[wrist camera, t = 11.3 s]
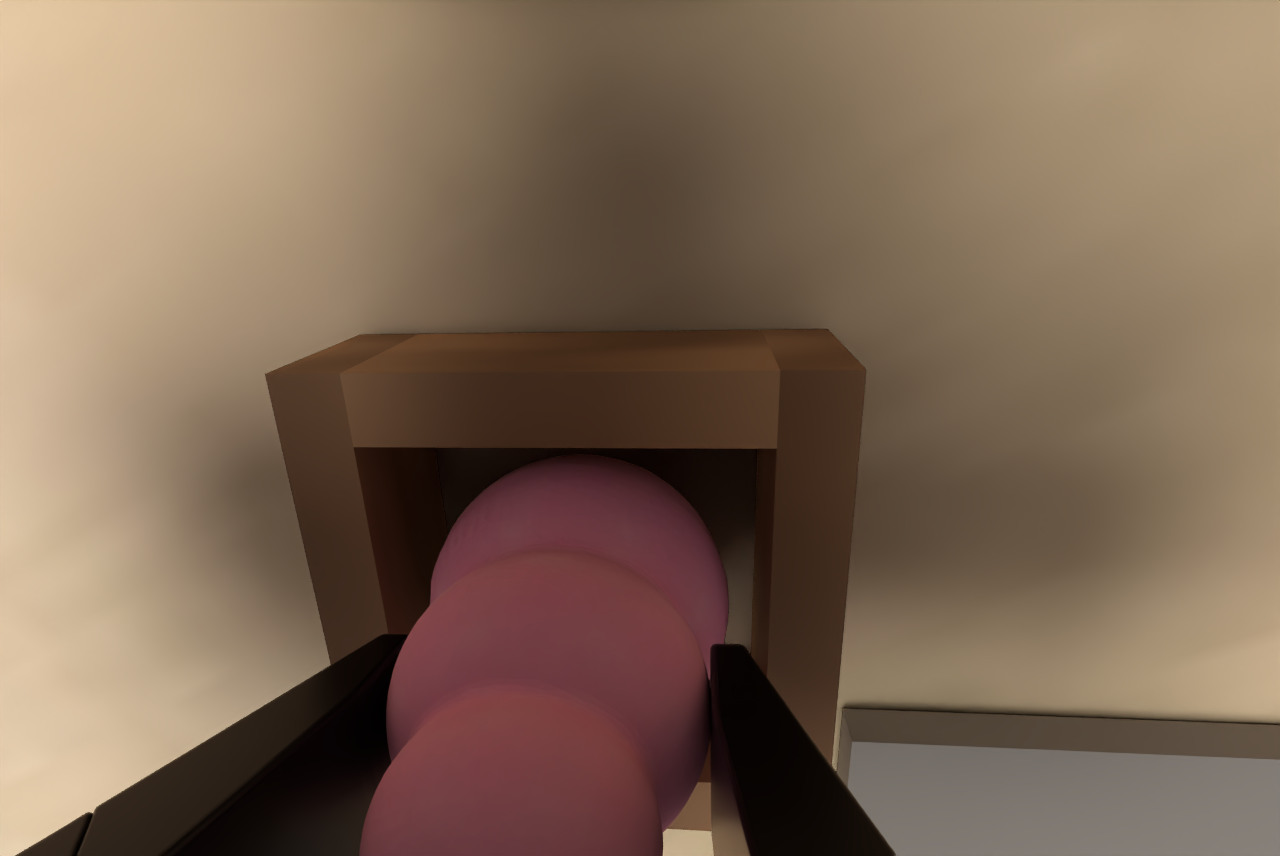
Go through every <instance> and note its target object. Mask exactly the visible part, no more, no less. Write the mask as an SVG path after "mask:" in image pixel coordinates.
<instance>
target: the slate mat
mask: <svg viewBox="0 0 1280 856" xmlns="http://www.w3.org/2000/svg"><path fill="white" fill-rule="evenodd" d="M837 774H838V775H839V777H840V778H841V779H842V781H843V782H844V783H845V785H846V786H847V788H848V789H849V790H850V792H851V793H852V794H853V796H854V797H855V798H856V800H857V801H858V803H859V804H860V805H861V807H862V808H863V809H864V811H865V812H866V814H867V815H868V816H869V818H870V819H871V820H872V822H873V823H874V824H875V826H876V827H877V829H878V830H879V831H880V833H881V834H882V835H883V837H884V838H885V839H886V841H887V842H888V844H889V845H890V846H891V848H892V849H893V850H894V852H895V854H896V856H1280V725H1262V724H1236V723H1210V722H1184V721H1158V720H1131V719H1105V718H1079V717H1053V716H1026V715H1000V714H974V713H948V712H922V711H895V710H869V709H843V713H842V724H841V735H840V746H839V756H838V767H837Z"/></svg>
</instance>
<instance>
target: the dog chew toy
mask: <svg viewBox="0 0 1280 856" xmlns="http://www.w3.org/2000/svg"><path fill="white" fill-rule="evenodd" d="M728 613H729V595H728V584H727V578H726V574H725V570H724V567H723V564H722V562H721V558H720V555H719V552H718V549H717V547H716V544H715V542H714V540H713V538H712V536H711V534H710V532H709V530H708V528H707V527H706V525H705V523H704V522H703V520H702V519H701V517H700V516H699V514H698V513H697V512H696V510H695V509H694V508H693V507H692V506H691V504H690V503H689V502H688V501H687V500H686V499H685V498H684V497H683V496H682V495H681V494H680V493H679V492H678V491H677V490H675V489H674V488H673V487H672V486H671V485H669V484H668V483H667V482H665V481H664V480H662V479H661V478H659V477H658V476H656V475H654V474H653V473H651V472H649V471H647V470H645V469H643V468H641V467H639V466H636V465H633V464H631V463H628V462H625V461H622V460H619V459H615V458H611V457H605V456H598V455H564V456H557V457H552V458H547V459H543V460H539V461H536V462H533V463H530V464H527V465H525V466H522V467H520V468H518V469H516V470H514V471H512V472H510V473H508V474H507V475H505V476H503V477H501V478H500V479H499V480H497V481H496V482H494V483H493V484H491V485H490V486H489V487H488V488H486V489H485V490H484V491H483V492H482V493H481V494H479V495H478V496H477V497H476V498H475V499H474V500H473V501H472V502H471V503H470V504H469V505H468V506H467V507H466V509H465V510H464V511H463V512H462V513H461V515H460V516H459V517H458V519H457V520H456V522H455V524H454V525H453V527H452V528H451V530H450V533H449V535H448V537H447V539H446V541H445V544H444V546H443V548H442V550H441V552H440V554H439V557H438V559H437V562H436V564H435V567H434V571H433V575H432V579H431V597H430V606H429V607H428V608H427V610H426V611H425V612H424V613H423V615H422V616H421V617H420V618H419V620H418V621H417V622H416V624H415V625H414V627H413V628H412V630H411V632H410V633H409V635H408V637H407V639H406V641H405V643H404V644H403V646H402V649H401V651H400V653H399V656H398V658H397V661H396V664H395V666H394V669H393V673H392V677H391V681H390V686H389V690H388V698H387V707H386V731H387V743H388V748H389V754H390V758H391V762H392V763H391V765H390V766H389V767H388V769H387V770H386V772H385V774H384V775H383V777H382V779H381V781H380V783H379V785H378V787H377V789H376V791H375V794H374V796H373V798H372V801H371V804H370V806H369V809H368V812H367V815H366V818H365V822H364V826H363V832H362V838H361V844H360V850H359V856H662V855H663V832H664V831H665V830H666V829H667V828H668V827H669V826H670V825H671V823H672V822H673V821H674V820H675V819H676V817H677V816H678V815H679V814H680V812H681V811H682V809H683V808H684V806H685V805H686V803H687V801H688V800H689V798H690V796H691V794H692V792H693V790H694V789H695V787H696V785H697V783H698V780H699V778H700V775H701V773H702V770H703V767H704V763H705V760H706V757H707V753H708V748H709V743H710V737H711V689H710V681H709V680H710V648H711V646H712V645H713V644H716V643H718V644H724V641H725V636H726V629H727V623H728Z"/></svg>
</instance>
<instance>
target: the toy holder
mask: <svg viewBox="0 0 1280 856" xmlns="http://www.w3.org/2000/svg"><path fill="white" fill-rule="evenodd" d="M265 376H266V380H267V385H268V389H269V393H270V398H271V402H272V407H273V411H274V416H275V420H276V424H277V429H278V433H279V438H280V442H281V446H282V451H283V455H284V460H285V464H286V468H287V473H288V477H289V482H290V486H291V491H292V495H293V499H294V504H295V508H296V513H297V517H298V521H299V526H300V530H301V535H302V539H303V544H304V548H305V552H306V557H307V561H308V566H309V570H310V574H311V579H312V583H313V588H314V592H315V596H316V601H317V605H318V610H319V614H320V619H321V623H322V627H323V632H324V636H325V641H326V645H327V649H328V654H329V658H330V663H331V665H332V664H334V663H335V662H337V661H339V660H340V659H342V658H343V657H345V656H347V655H348V654H350V653H352V652H353V651H355V650H357V649H358V648H360V647H362V646H363V645H365V644H367V643H368V642H370V641H372V640H373V639H375V638H376V637H378V636H380V635H382V634H409V633H410V632H411V630H412V628H413V627H414V625H415V624H416V622H417V621H418V620H419V618H420V617H421V616H422V615H423V613H424V612H425V611H426V610H427V608H428V607H429V606H430V597H431V579H432V575H433V571H434V567H435V564H436V562H437V559H438V557H439V554H440V552H441V550H442V548H443V546H444V544H445V541H446V539H447V537H448V535H447V528H446V521H445V514H444V507H443V500H442V493H441V486H440V479H439V472H438V465H437V458H436V451H435V447H446V448H738V449H758V457H757V488H756V519H755V549H754V580H753V611H752V642H751V656H752V658H753V659H754V660H755V662H756V663H757V664H758V666H759V667H760V669H761V670H762V671H763V673H764V674H765V675H766V677H767V678H768V679H769V681H770V682H771V684H772V685H773V686H774V688H775V689H776V690H777V692H778V693H779V695H780V696H781V697H782V699H783V700H784V701H785V703H786V704H787V705H788V707H789V708H790V710H791V711H792V712H793V714H794V715H795V716H796V718H797V719H798V721H799V722H800V723H801V725H802V726H803V727H804V729H805V730H806V731H807V733H808V734H809V736H810V737H811V738H812V740H813V741H814V742H815V744H816V745H817V746H818V748H819V749H820V751H821V752H822V753H823V755H824V756H825V757H826V759H827V760H828V762H829V763H830V764H831V766H832V756H833V744H834V733H835V722H836V710H837V699H838V687H839V676H840V665H841V653H842V642H843V631H844V619H845V608H846V596H847V585H848V574H849V562H850V551H851V540H852V528H853V517H854V505H855V494H856V483H857V471H858V460H859V449H860V437H861V426H862V414H863V403H864V392H865V380H866V369H865V368H864V367H863V366H862V365H861V364H860V363H859V361H858V360H857V359H856V358H855V357H854V356H853V355H852V354H851V353H850V352H849V351H848V350H847V349H846V348H845V347H844V346H843V345H842V344H841V342H840V341H839V340H838V339H837V338H836V337H835V336H834V335H833V334H832V333H831V332H830V331H829V330H828V329H776V330H697V331H618V332H539V333H460V334H381V335H358V336H356V337H353V338H351V339H348V340H346V341H344V342H341V343H339V344H336V345H334V346H332V347H329V348H327V349H324V350H322V351H320V352H317V353H315V354H312V355H310V356H307V357H305V358H303V359H300V360H298V361H295V362H293V363H291V364H288V365H286V366H283V367H281V368H279V369H276V370H274V371H271V372H269V373H267V374H265ZM709 681H710V680H709ZM667 829H683V830H701V831H712V825H711V767H710V743H709V748H708V753H707V757H706V760H705V763H704V767H703V770H702V773H701V775H700V778H699V780H698V783H697V785H696V787H695V789H694V790H693V792H692V794H691V796H690V798H689V800H688V801H687V803H686V805H685V806H684V808H683V809H682V811H681V812H680V814H679V815H678V816H677V817H676V819H675V820H674V821H673V822H672V823H671V825H670V826H669V827H668V828H667Z"/></svg>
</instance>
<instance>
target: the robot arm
mask: <svg viewBox="0 0 1280 856" xmlns="http://www.w3.org/2000/svg"><path fill="white" fill-rule="evenodd" d="M408 635H409V634H382V635H380V636H378V637H376V638H375V639H373V640H372V641H370V642H368V643H367V644H365V645H363V646H362V647H360V648H358V649H357V650H355V651H353V652H352V653H350V654H348V655H347V656H345V657H343V658H342V659H340V660H339V661H337V662H335V663H334V664H332V665H330V666H329V667H327V668H325V669H324V670H322V671H320V672H319V673H317V674H315V675H314V676H312V677H310V678H309V679H307V680H306V681H304V682H302V683H301V684H299V685H297V686H296V687H294V688H292V689H291V690H289V691H287V692H286V693H284V694H282V695H281V696H279V697H277V698H276V699H274V700H273V701H271V702H269V703H268V704H266V705H264V706H263V707H261V708H259V709H258V710H256V711H254V712H253V713H251V714H249V715H248V716H246V717H244V718H243V719H241V720H239V721H238V722H236V723H235V724H233V725H231V726H230V727H228V728H226V729H225V730H223V731H221V732H220V733H218V734H216V735H215V736H213V737H211V738H210V739H208V740H206V741H205V742H203V743H201V744H200V745H198V746H197V747H195V748H193V749H192V750H190V751H188V752H187V753H185V754H183V755H182V756H180V757H178V758H177V759H175V760H173V761H172V762H170V763H168V764H167V765H165V766H163V767H162V768H160V769H159V770H157V771H155V772H154V773H152V774H150V775H149V776H147V777H145V778H144V779H142V780H140V781H139V782H137V783H135V784H134V785H132V786H130V787H129V788H127V789H125V790H124V791H122V792H121V793H119V794H117V795H116V796H114V797H112V798H111V799H109V800H107V801H106V802H104V803H102V804H101V805H99V806H98V807H96V809H95V811H94V813H91V812H88V813H86V814H84V815H82V816H81V817H79V818H77V819H76V820H74V821H72V822H71V823H69V824H68V825H66V826H64V827H63V828H61V829H59V830H58V831H56V832H54V833H53V834H51V835H49V836H48V837H46V838H44V839H43V840H41V841H39V842H38V843H36V844H34V845H33V846H31V847H29V848H27V849H26V850H24V851H22V852H21V853H19V854H17V855H16V856H359V850H360V844H361V838H362V832H363V826H364V822H365V818H366V815H367V812H368V809H369V806H370V804H371V801H372V798H373V796H374V794H375V791H376V789H377V787H378V785H379V783H380V781H381V779H382V777H383V775H384V774H385V772H386V770H387V769H388V767H389V766H390V765H391V763H392V762H391V758H390V754H389V748H388V743H387V731H386V707H387V698H388V690H389V686H390V681H391V677H392V673H393V669H394V666H395V664H396V661H397V658H398V656H399V653H400V651H401V649H402V646H403V644H404V643H405V641H406V639H407V637H408ZM710 689H711V737H710V767H711V825H712V841H713V851H714V856H896V854H895V852H894V850H893V849H892V848H891V846H890V845H889V844H888V842H887V841H886V839H885V838H884V837H883V835H882V834H881V833H880V831H879V830H878V829H877V827H876V826H875V824H874V823H873V822H872V820H871V819H870V818H869V816H868V815H867V814H866V812H865V811H864V809H863V808H862V807H861V805H860V804H859V803H858V801H857V800H856V798H855V797H854V796H853V794H852V793H851V792H850V790H849V789H848V788H847V786H846V785H845V783H844V782H843V781H842V779H841V778H840V777H839V775H838V774H837V772H836V771H835V770H834V768H833V767H832V766H831V764H830V763H829V762H828V760H827V759H826V757H825V756H824V755H823V753H822V752H821V751H820V749H819V748H818V746H817V745H816V744H815V742H814V741H813V740H812V738H811V737H810V736H809V734H808V733H807V731H806V730H805V729H804V727H803V726H802V725H801V723H800V722H799V721H798V719H797V718H796V716H795V715H794V714H793V712H792V711H791V710H790V708H789V707H788V705H787V704H786V703H785V701H784V700H783V699H782V697H781V696H780V695H779V693H778V692H777V690H776V689H775V688H774V686H773V685H772V684H771V682H770V681H769V679H768V678H767V677H766V675H765V674H764V673H763V671H762V670H761V669H760V667H759V666H758V664H757V663H756V662H755V660H754V659H753V658H752V656H751V655H750V653H749V652H748V651H747V649H746V648H745V647H744V646H743V645H740V644H718V643H716V644H713V645H712V646H711V648H710Z"/></svg>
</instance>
